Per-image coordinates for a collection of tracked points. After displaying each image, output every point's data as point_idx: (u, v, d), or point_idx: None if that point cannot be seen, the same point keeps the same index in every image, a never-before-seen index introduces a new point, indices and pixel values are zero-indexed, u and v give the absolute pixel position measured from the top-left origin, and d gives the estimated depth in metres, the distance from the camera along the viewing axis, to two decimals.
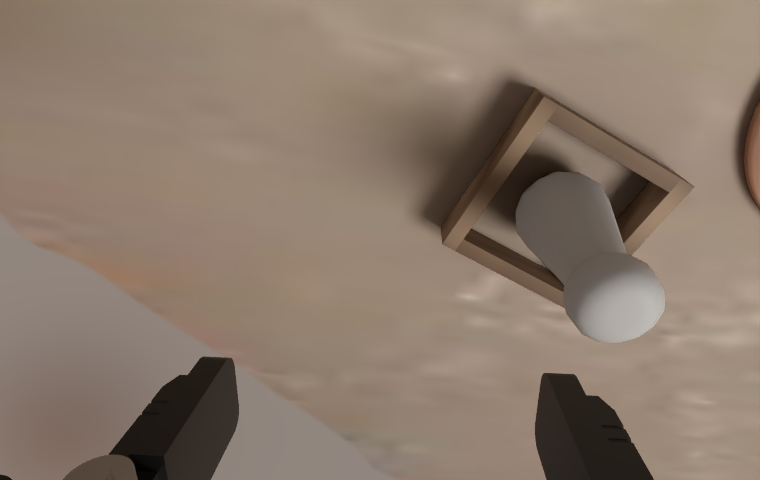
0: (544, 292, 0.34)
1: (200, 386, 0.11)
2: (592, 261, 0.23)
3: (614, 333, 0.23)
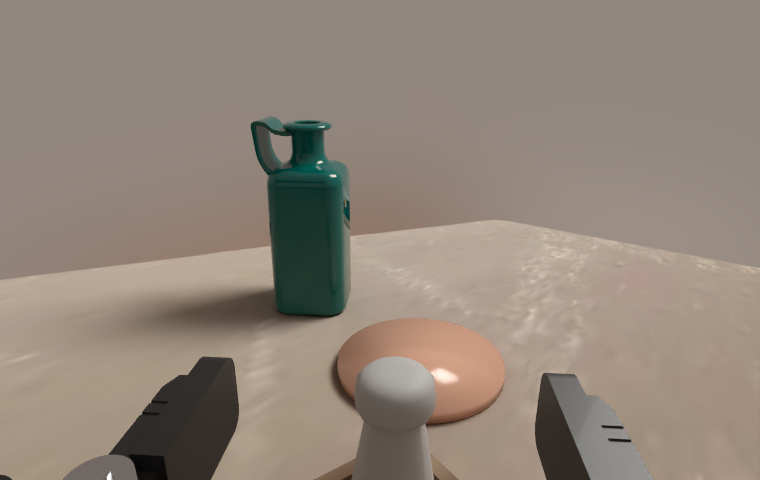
0: None
1: (200, 386, 0.11)
2: (355, 400, 0.26)
3: (414, 378, 0.25)
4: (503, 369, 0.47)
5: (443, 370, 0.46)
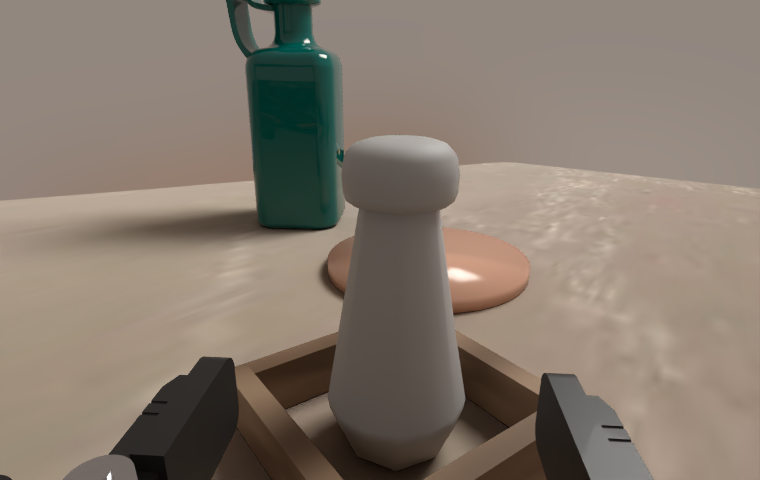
0: (533, 431, 0.19)
1: (200, 386, 0.11)
2: None
3: (427, 141, 0.17)
4: (527, 264, 0.39)
5: (455, 265, 0.38)
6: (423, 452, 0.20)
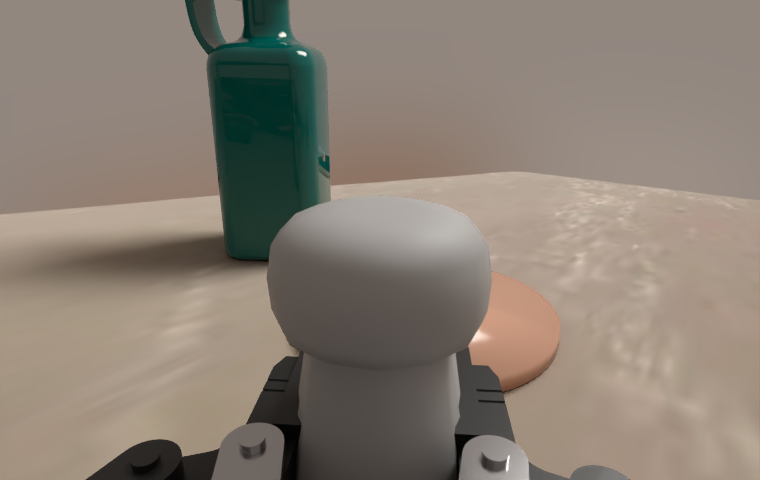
0: None
1: None
2: None
3: (431, 220, 0.09)
4: (557, 320, 0.30)
5: None
6: None
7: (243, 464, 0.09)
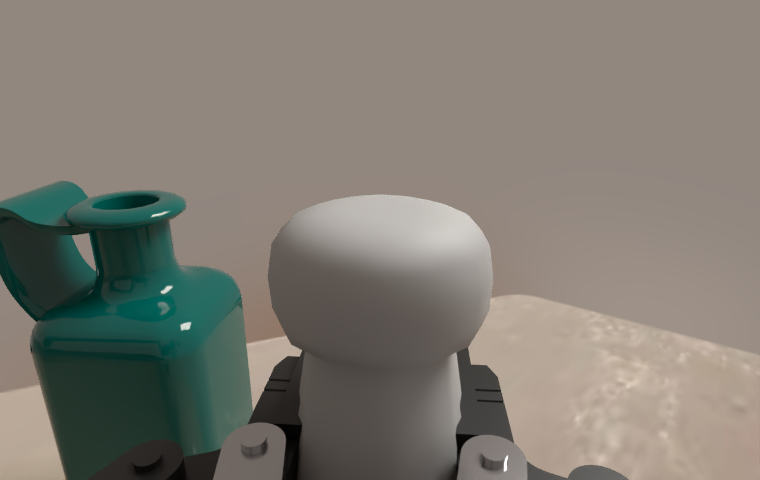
0: None
1: None
2: None
3: (432, 219, 0.09)
4: None
5: None
6: None
7: (245, 464, 0.09)
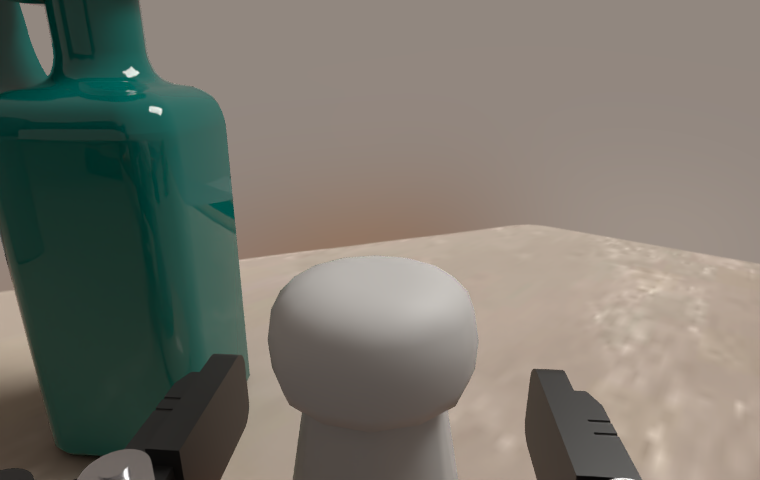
0: None
1: (212, 382, 0.12)
2: None
3: (420, 287, 0.10)
4: None
5: None
6: None
7: None
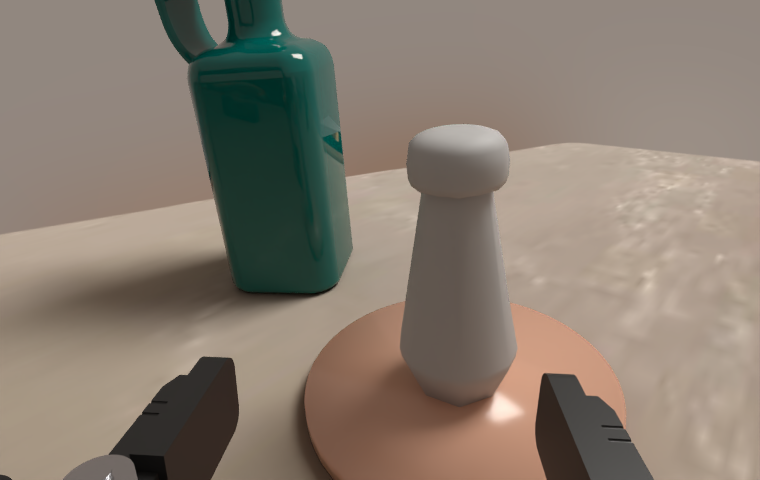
0: None
1: (200, 386, 0.11)
2: (407, 172, 0.21)
3: (481, 133, 0.20)
4: (621, 400, 0.24)
5: (501, 404, 0.24)
6: (482, 392, 0.24)
7: None
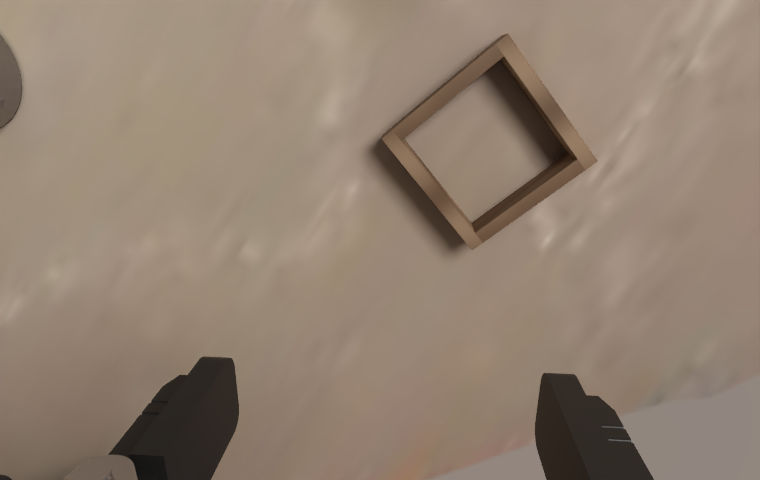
0: (558, 183, 0.36)
1: (200, 386, 0.11)
2: None
3: None
4: None
5: None
6: None
7: None
